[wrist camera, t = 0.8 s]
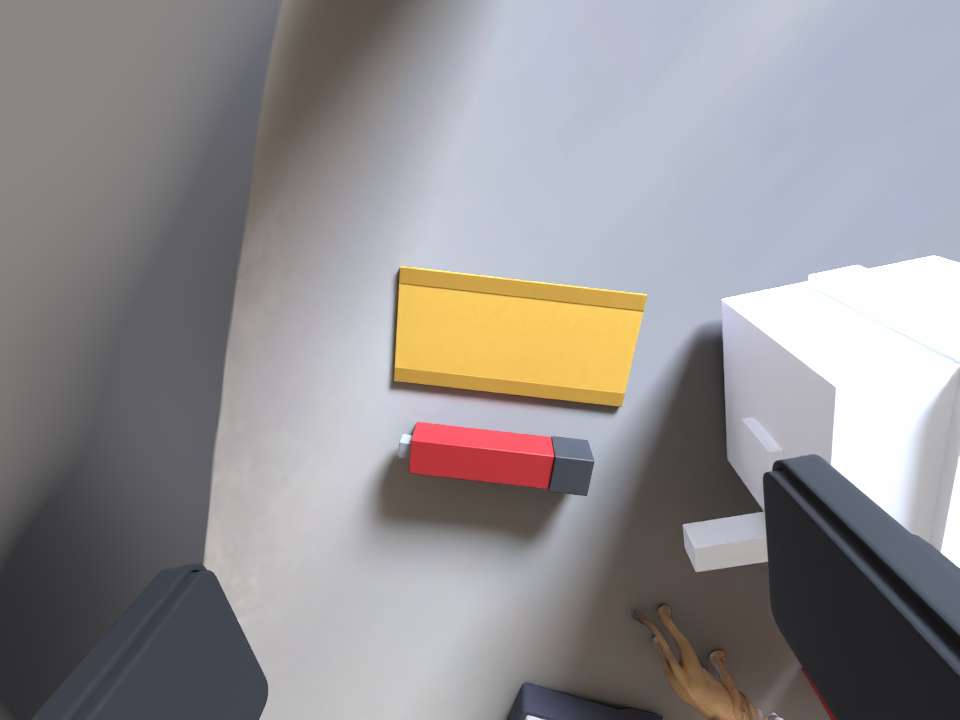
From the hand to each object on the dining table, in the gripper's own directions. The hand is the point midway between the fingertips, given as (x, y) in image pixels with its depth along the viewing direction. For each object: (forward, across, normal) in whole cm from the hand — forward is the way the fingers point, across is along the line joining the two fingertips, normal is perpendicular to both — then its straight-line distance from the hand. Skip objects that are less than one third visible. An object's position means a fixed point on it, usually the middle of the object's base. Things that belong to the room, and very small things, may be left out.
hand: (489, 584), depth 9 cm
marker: (+31, +3, +14) cm, 34 cm away
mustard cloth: (+30, 0, +5) cm, 31 cm away
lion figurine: (+31, -11, +39) cm, 51 cm away
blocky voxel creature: (+31, -22, +18) cm, 42 cm away
